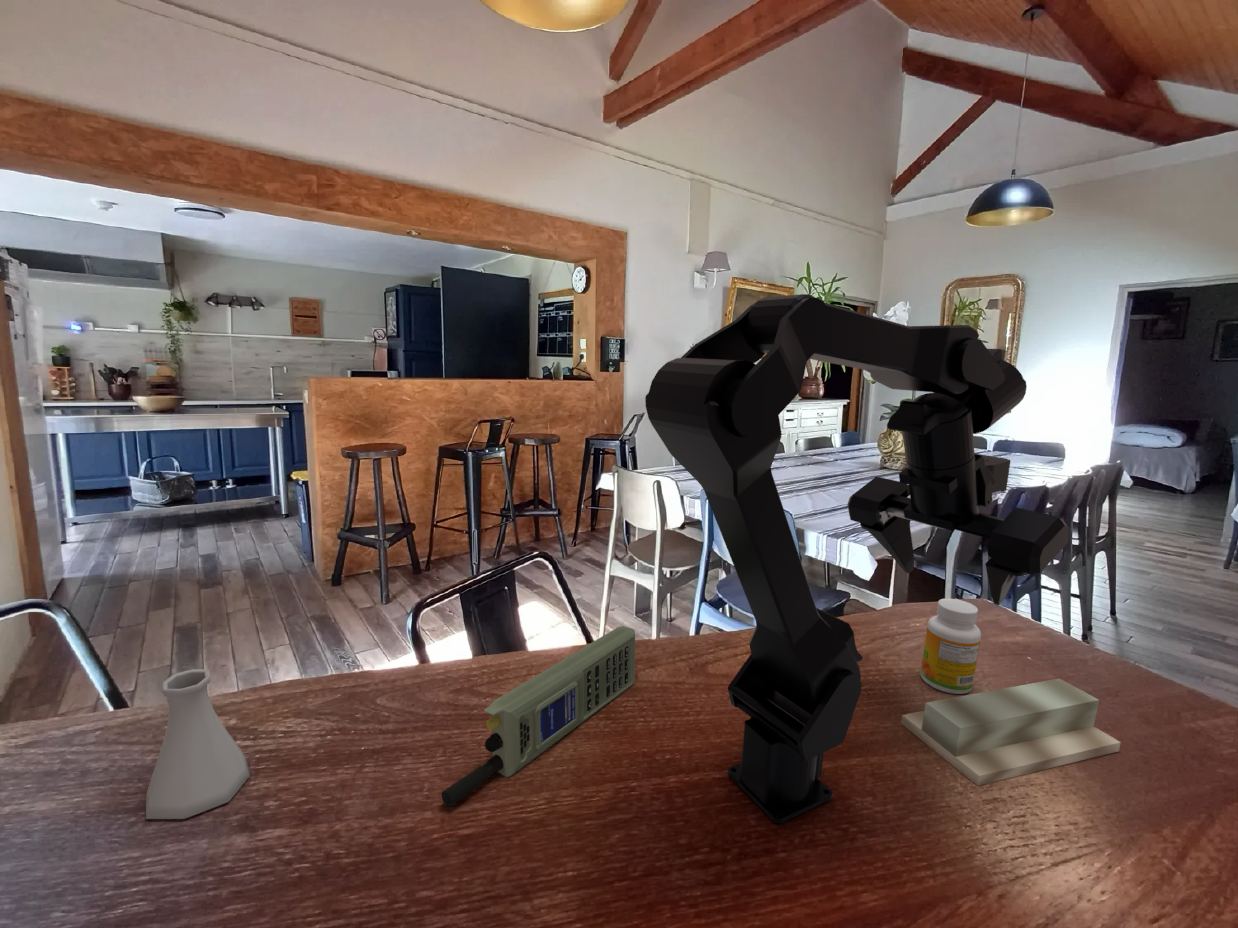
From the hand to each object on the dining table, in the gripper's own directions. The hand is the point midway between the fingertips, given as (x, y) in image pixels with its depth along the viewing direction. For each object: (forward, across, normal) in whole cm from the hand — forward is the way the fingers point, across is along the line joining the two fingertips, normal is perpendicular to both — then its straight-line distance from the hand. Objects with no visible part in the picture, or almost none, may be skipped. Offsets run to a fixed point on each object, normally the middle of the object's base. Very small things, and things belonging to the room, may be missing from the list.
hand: (951, 585), depth 60 cm
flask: (-13, +24, +67) cm, 72 cm away
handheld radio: (-2, +16, +41) cm, 44 cm away
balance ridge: (+13, -7, +4) cm, 16 cm away
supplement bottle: (+15, +2, 0) cm, 16 cm away
